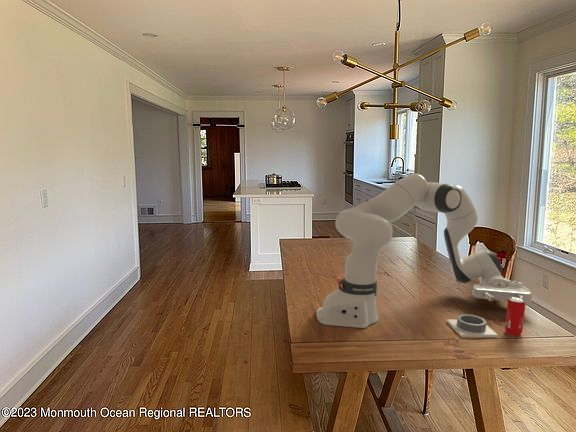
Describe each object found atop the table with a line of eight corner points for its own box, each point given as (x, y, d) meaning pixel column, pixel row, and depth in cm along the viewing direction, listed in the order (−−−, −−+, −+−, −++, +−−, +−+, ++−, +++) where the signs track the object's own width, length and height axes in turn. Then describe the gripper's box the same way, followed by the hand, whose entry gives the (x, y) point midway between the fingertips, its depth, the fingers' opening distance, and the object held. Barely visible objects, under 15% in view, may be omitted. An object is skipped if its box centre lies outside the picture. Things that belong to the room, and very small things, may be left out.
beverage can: (506, 328, 146) (510, 295, 143) (523, 333, 142) (527, 299, 140) (502, 333, 142) (506, 299, 140) (520, 338, 138) (524, 303, 136)
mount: (461, 337, 139) (462, 327, 138) (446, 322, 150) (447, 312, 150) (497, 337, 139) (498, 327, 138) (480, 322, 151) (480, 312, 150)
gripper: (469, 278, 167) (475, 289, 154) (525, 282, 163) (537, 295, 149) (467, 293, 169) (474, 305, 155) (524, 298, 164) (535, 311, 151)
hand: (506, 300), depth 152 cm, fingers open, 8 cm apart
